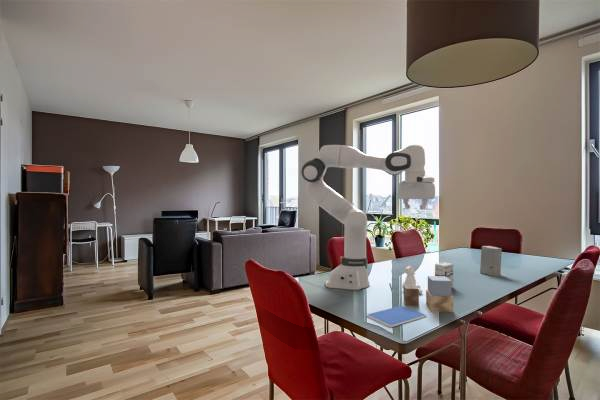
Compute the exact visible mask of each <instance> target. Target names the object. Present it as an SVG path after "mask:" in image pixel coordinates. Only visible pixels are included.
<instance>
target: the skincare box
mask: <svg viewBox="0 0 600 400" xmlns="http://www.w3.org/2000/svg"><path fill="white" fill-rule="evenodd" d="M502 252H503V248H501V247H497V246H492V245H482V246H481V252H480V253H481V254H480V264H479V266H480V268H479V269H480V270H479V273H480V274H484V275H488V276H491V277H493V276H494V277H496V276H497V277H498V276H501V274H502V273H501V270H502V269H501V268H502V255H503V253H502Z"/></svg>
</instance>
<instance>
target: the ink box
mask: <svg viewBox="0 0 600 400" xmlns="http://www.w3.org/2000/svg"><path fill="white" fill-rule="evenodd" d="M434 276H446V277H447V278H448V279H450V280H451V289H452V288H454V263H449V262H446V261H444V262H438V263H437V262H436V263H435V264H434Z"/></svg>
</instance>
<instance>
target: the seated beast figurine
mask: <svg viewBox="0 0 600 400" xmlns="http://www.w3.org/2000/svg"><path fill="white" fill-rule="evenodd" d="M404 271H405V274H406V277H405V280H404V281H403V283H402V290H403V291H404V285H413V286H417V287H418V289H419V295H423V290H422V289H421V286H420V285H419V284H417V282H416V278H415V275H416V273H415V268H413V267H412V265H408V266H406V267H405V269H404Z"/></svg>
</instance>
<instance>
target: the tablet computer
mask: <svg viewBox="0 0 600 400" xmlns="http://www.w3.org/2000/svg"><path fill="white" fill-rule="evenodd" d="M366 318H368V319H371V320H372V321H374V322H377V323H379V324H381V325H384V326H386V327H388V328H394V327H397V326H401V325H405V324H407V323H410V322H411V323H412V322H413V321H417V320H422V319H424V318H427V314H425V313H422V312H419V311H416V310H413V309H412V308H409V307H407V306H404V305H399V306H398V305H397V306H395V307H391V308H386V309H383V310H379V311H376V312H371V313H367V314H366Z"/></svg>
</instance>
